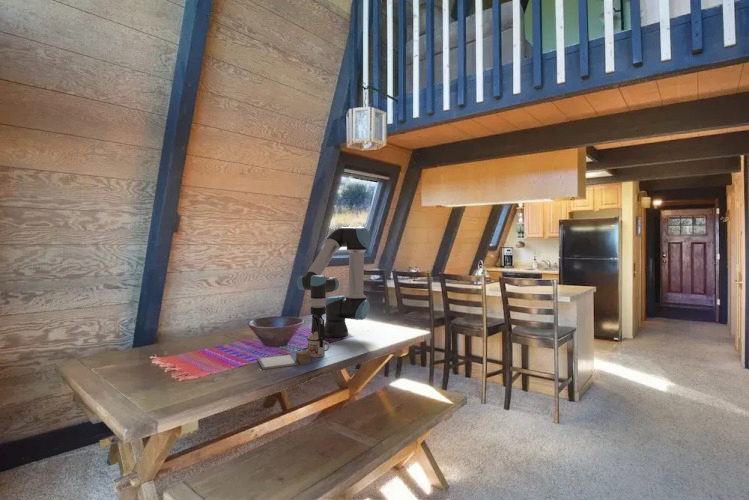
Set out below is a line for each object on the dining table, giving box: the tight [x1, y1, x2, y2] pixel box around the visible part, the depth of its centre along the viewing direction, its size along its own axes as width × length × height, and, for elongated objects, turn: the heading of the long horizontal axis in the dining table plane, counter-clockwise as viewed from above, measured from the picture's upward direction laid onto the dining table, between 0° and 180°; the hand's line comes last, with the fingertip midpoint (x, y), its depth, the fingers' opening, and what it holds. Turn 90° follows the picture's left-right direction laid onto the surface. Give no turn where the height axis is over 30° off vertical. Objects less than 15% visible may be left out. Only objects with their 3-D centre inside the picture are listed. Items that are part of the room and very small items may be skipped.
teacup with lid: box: [306, 332, 331, 358], centre depth 207 cm, size 12×9×12 cm
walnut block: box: [295, 349, 311, 365], centre depth 195 cm, size 5×5×5 cm
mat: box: [257, 353, 299, 370], centre depth 196 cm, size 16×16×1 cm
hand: (317, 350), depth 208 cm, fingers open, 9 cm apart
